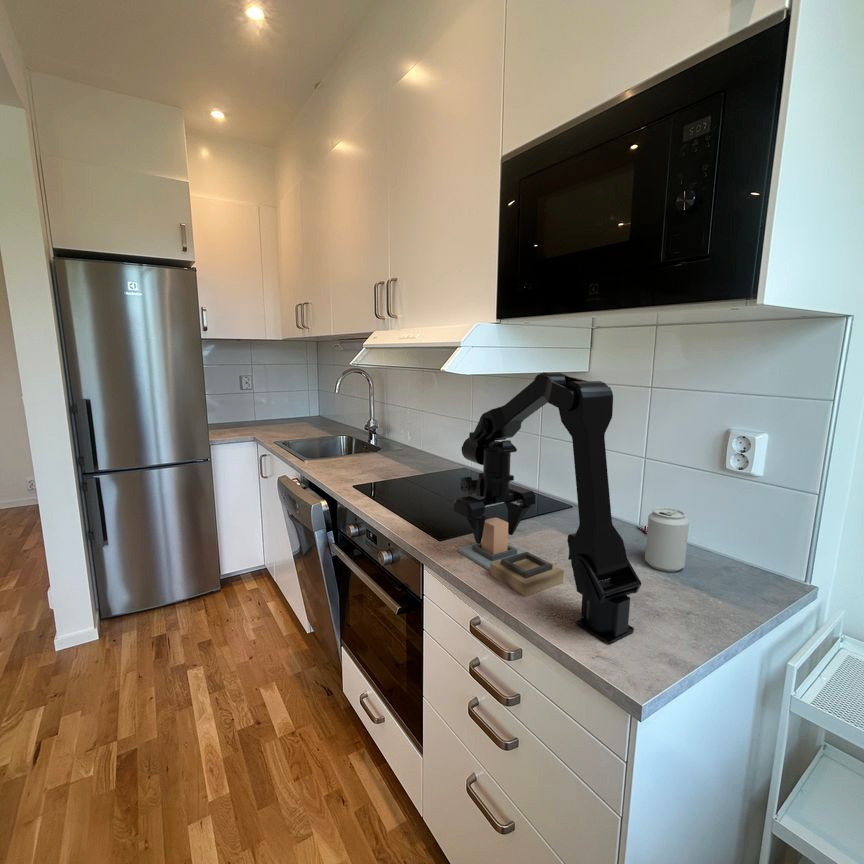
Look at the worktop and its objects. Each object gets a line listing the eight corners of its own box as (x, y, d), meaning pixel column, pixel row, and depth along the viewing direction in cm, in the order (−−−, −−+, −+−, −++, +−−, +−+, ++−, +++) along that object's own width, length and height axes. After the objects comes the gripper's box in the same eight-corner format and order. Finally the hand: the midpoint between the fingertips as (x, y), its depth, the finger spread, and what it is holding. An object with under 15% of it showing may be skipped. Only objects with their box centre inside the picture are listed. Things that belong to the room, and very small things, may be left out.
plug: (507, 553, 100) (508, 522, 99) (493, 557, 98) (494, 526, 97) (495, 546, 103) (496, 517, 102) (481, 550, 101) (482, 520, 100)
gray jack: (533, 558, 99) (533, 551, 98) (490, 571, 92) (490, 564, 92) (497, 539, 109) (497, 533, 108) (456, 550, 102) (456, 543, 102)
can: (636, 560, 98) (640, 507, 96) (662, 555, 100) (667, 503, 98) (665, 576, 91) (670, 518, 89) (692, 570, 93) (698, 514, 92)
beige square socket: (563, 582, 88) (564, 565, 87) (525, 596, 83) (525, 578, 82) (526, 563, 96) (527, 547, 96) (489, 574, 91) (490, 558, 90)
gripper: (504, 458, 109) (502, 520, 112) (439, 467, 99) (439, 535, 102) (538, 467, 100) (535, 534, 102) (470, 478, 90) (469, 553, 93)
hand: (494, 538), depth 100 cm, fingers open, 9 cm apart
